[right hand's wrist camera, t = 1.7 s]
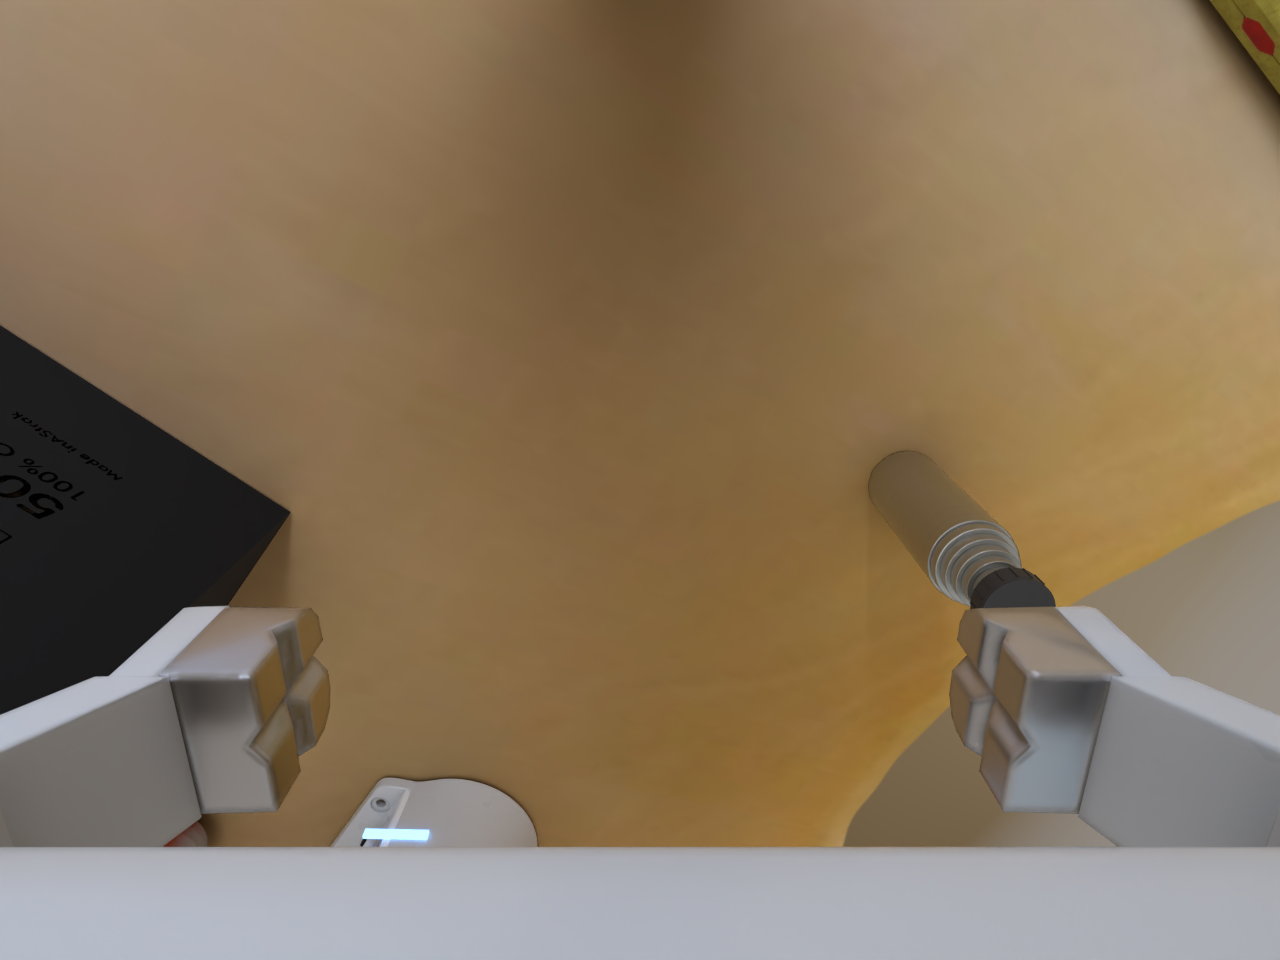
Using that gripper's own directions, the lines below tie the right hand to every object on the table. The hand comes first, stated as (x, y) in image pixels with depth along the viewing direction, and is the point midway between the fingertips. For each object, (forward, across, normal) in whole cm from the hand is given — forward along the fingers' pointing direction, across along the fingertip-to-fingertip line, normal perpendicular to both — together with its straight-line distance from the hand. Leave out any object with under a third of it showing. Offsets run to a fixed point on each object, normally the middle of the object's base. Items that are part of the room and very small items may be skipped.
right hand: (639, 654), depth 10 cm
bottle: (+48, -20, +16) cm, 54 cm away
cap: (+29, -20, +16) cm, 38 cm away
